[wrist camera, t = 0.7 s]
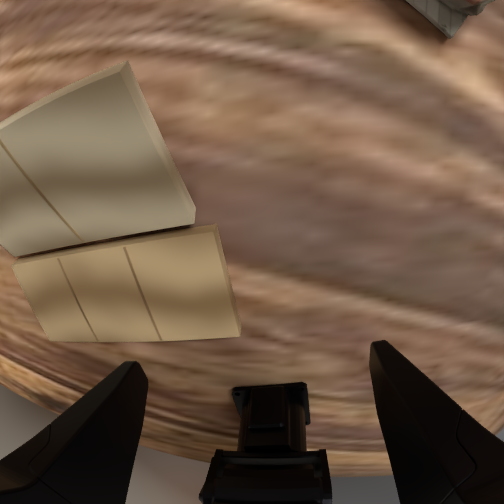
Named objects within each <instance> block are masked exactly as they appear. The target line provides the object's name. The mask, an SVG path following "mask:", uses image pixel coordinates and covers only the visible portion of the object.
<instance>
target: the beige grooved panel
mask: <svg viewBox="0 0 504 504" xmlns="http://www.w3.org/2000/svg"><path fill="white" fill-rule="evenodd" d="M195 212H196V207H195V205H194V203H193V201H192V199H191V197H190V195H189V193H188V191H187V189H186V186H185V184H184V182H183V180H182V178H181V176H180V174H179V172H178V170H177V168H176V165H175V163H174V161H173V159H172V157H171V155H170V153H169V150H168V148H167V146H166V144H165V142H164V140H163V138H162V135H161V133H160V131H159V129H158V127H157V124H156V122H155V120H154V118H153V116H152V113H151V111H150V109H149V107H148V105H147V102H146V100H145V98H144V96H143V94H142V91H141V89H140V87H139V85H138V82H137V80H136V78H135V75H134V73H133V71H132V69H131V66H130V64H129V62H128V60H127V61H125V62H122V63H119V64H117V65H114V66H111V67H109V68H106V69H104V70H101V71H99V72H97V73H94V74H92V75H90V76H87V77H85V78H83V79H81V80H78V81H76V82H74V83H72V84H70V85H68V86H65V87H63V88H61V89H59V90H57V91H55V92H53V93H51V94H49V95H47V96H45V97H44V98H42V99H40V100H38V101H36V102H34V103H32V104H31V105H29V106H27V107H25V108H24V109H22V110H20V111H18V112H17V113H15V114H13V115H12V116H10V117H8V118H7V119H5V120H4V121H2V122H0V244H1V245H2V246H3V247H4V248H5V249H6V250H7V251H9V252H10V253H11V254H12V255H13V256H14V257H17V256H21V255H26V254H31V253H36V252H40V251H45V250H50V249H55V248H60V247H65V246H71V245H76V244H81V243H86V242H91V241H97V240H102V239H108V238H113V237H119V236H124V235H130V234H136V233H141V232H147V231H153V230H159V229H165V228H171V227H177V226H183V225H189V224H194V222H195Z"/></svg>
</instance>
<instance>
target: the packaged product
mask: <svg viewBox="0 0 504 504" xmlns="http://www.w3.org/2000/svg"><path fill="white" fill-rule="evenodd" d="M406 1H407V2H408V3H409V4H410V5H412V6H413V7H414V8H415V9H416V10H418V11H419V12H420V13H421V14H422V15H423V16H425V17H426V18H427V19H428V20H429V21H430V22H431V23H432V24H434V25H435V26H436V27H437V28H438V29H439V30H441V31H442V32H443V33H444V34H445V35H446V37H448V38H449V39H451V38H452V37H453V35H454V34H455V32H456V31H457V30H458V29H459V27H460V26H461V25H462V23H463V22H464V21H465V19H466V18H467V16H468V15H470V16H472V15H478V14H479V13H481V12H482V11H483V9H484V8H485V6H486V5H487V4H488V3H490V2H493V1H495V0H406Z"/></svg>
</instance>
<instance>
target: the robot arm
mask: <svg viewBox="0 0 504 504" xmlns="http://www.w3.org/2000/svg"><path fill="white" fill-rule="evenodd" d="M369 367H370V374H371V379H372V385H373V391H374V397H375V404H376V410H377V415H378V419H379V423H380V426H381V430H382V433H383V437H384V441H385V444H386V448H387V452H388V455H389V459H390V463H391V467H392V471H393V475H394V479H395V483H396V487H397V492H398V496H399V500H400V504H504V442H503V441H501V440H500V439H499V438H497V437H496V436H495V435H493V434H492V433H491V432H490V431H488V430H487V429H486V428H484V427H483V426H482V425H481V424H480V423H478V422H477V421H476V420H475V419H474V418H473V417H471V416H470V415H469V414H468V413H467V412H466V411H465V410H462V408H461V407H460V406H459V405H458V404H457V403H456V402H455V401H454V400H452V399H451V398H450V397H449V396H448V395H447V394H446V393H445V392H444V391H443V390H441V389H440V388H439V387H438V386H437V385H436V384H435V383H434V382H432V381H431V380H430V379H429V378H428V377H427V376H426V375H425V374H424V373H422V372H421V371H420V370H419V369H418V368H417V367H416V366H415V365H413V364H412V363H411V362H410V361H409V360H408V359H407V358H405V357H404V356H403V355H402V354H401V353H400V352H399V351H398V350H396V349H395V348H394V347H393V346H392V345H391V344H390V343H388V342H387V341H386V340H380V341H374V342H372V343H371V347H370V360H369ZM147 392H148V379H147V377H146V375H145V373H144V371H143V369H142V367H141V366H140V364H139V363H138V362H137V361H125V362H124V363H122V364H121V365H120V366H119V367H118V368H116V369H115V370H114V371H113V372H112V373H110V374H109V375H108V376H107V377H106V378H104V379H103V380H102V381H101V382H100V383H98V384H97V385H96V386H95V387H94V388H92V389H91V390H90V391H89V392H88V393H86V394H85V395H84V396H83V397H82V398H80V399H79V400H78V401H77V402H75V403H74V404H73V405H72V406H71V407H69V408H68V409H67V410H66V411H65V412H63V413H62V414H61V415H60V416H59V417H57V418H56V419H55V420H54V421H53V422H52V423H51V424H49V425H48V426H47V427H45V428H44V429H43V430H42V431H40V432H39V433H38V434H37V435H36V436H34V437H33V438H32V439H30V440H29V441H27V442H26V443H25V444H23V445H22V446H20V447H19V448H17V449H16V450H14V451H13V452H11V453H10V454H8V455H7V456H6V457H4V458H3V459H1V460H0V504H125V502H126V497H127V492H128V487H129V483H130V478H131V474H132V469H133V465H134V460H135V456H136V451H137V447H138V443H139V439H140V435H141V431H142V426H143V420H144V413H145V406H146V399H147ZM232 396H233V399H234V402H235V404H236V407H237V410H238V412H239V415H240V418H241V421H240V430H239V439H238V448H237V451H223V450H221V449H216V452H215V455H214V457H212V460H211V464H210V467H209V471H208V474H207V477H206V481H205V483H204V485H203V488H202V489H201V491H200V493H199V500H200V501H201V502H202V503H203V504H332V487H331V479H330V473H329V466H328V460H327V454H326V449H319V451H307V449H306V426H305V425H309V424H310V412H309V401H308V390H307V384H306V383H303V382H300V383H290V384H278V385H266V386H250V387H235V388H233V389H232Z"/></svg>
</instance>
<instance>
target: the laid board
mask: <svg viewBox="0 0 504 504" xmlns="http://www.w3.org/2000/svg"><path fill="white" fill-rule="evenodd" d="M11 267H12V269H13V271H14V273H15V275H16V278H17V280H18V282H19V284H20V286H21V288H22V290H23V292H24V294H25V296H26V298H27V300H28V302H29V304H30V306H31V308H32V310H33V312H34V313H35V315H36V317H37V319H38V321H39V323H40V324H41V326H42V328H43V330H44V331H45V333H46V335H47V337H48V338H49V340H50V341H63V342H150V341H177V340H197V339H214V338H228V337H240V333H241V322H240V318H239V314H238V310H237V306H236V302H235V298H234V294H233V290H232V286H231V282H230V278H229V273H228V269H227V265H226V261H225V257H224V253H223V248H222V244H221V240H220V236H219V232H218V227H217V224H213V225H206V226H200V227H193V228H187V229H181V230H174V231H168V232H162V233H156V234H150V235H144V236H138V237H132V238H126V239H121V240H115V241H109V242H104V243H98V244H92V245H87V246H82V247H76V248H71V249H66V250H60V251H55V252H50V253H45V254H40V255H35V256H30V257H25V258H20V259H18V260H17V261H16V262H14V263H13V264H12V265H11Z"/></svg>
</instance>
